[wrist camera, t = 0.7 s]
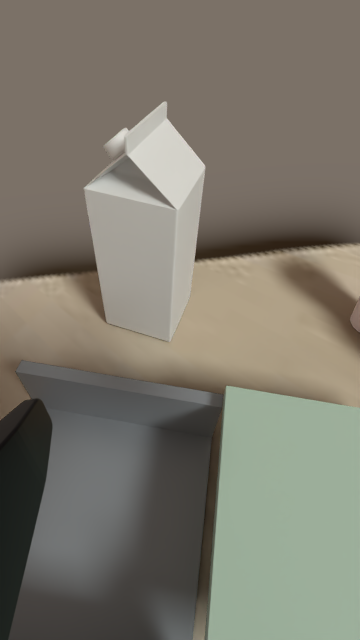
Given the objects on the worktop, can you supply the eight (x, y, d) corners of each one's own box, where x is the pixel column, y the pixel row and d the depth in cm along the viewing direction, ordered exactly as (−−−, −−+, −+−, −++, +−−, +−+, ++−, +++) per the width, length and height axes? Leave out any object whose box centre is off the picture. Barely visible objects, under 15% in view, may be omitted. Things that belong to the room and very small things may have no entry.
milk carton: (190, 297, 38) (212, 109, 23) (169, 343, 33) (182, 147, 19) (133, 281, 39) (121, 93, 25) (105, 324, 35) (71, 125, 20)
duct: (201, 748, 17) (218, 800, 12) (-93, 680, 18) (-175, 706, 13) (224, 429, 28) (237, 396, 23) (42, 397, 29) (21, 360, 24)
